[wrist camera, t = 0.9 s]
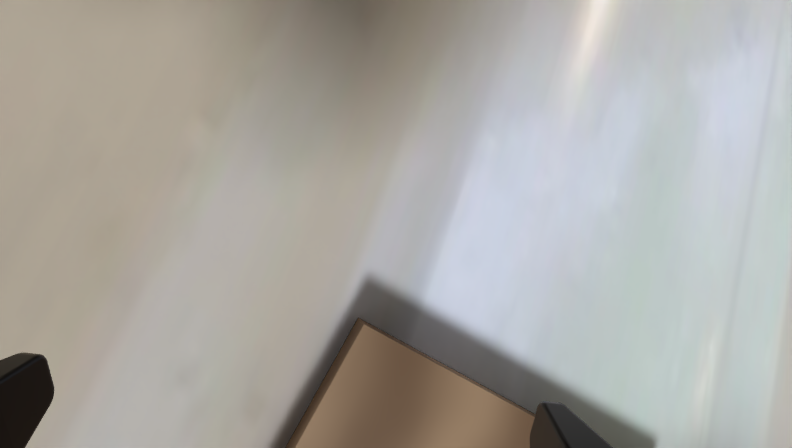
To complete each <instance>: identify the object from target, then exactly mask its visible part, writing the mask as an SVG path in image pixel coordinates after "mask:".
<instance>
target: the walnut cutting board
mask: <svg viewBox="0 0 792 448" xmlns="http://www.w3.org/2000/svg"><path fill="white" fill-rule="evenodd" d="M535 415H536V414H534V413H532V412H530V411H528V410H526V409H525V408H523V407H521V406H519V405H517V404H515V403H514V402H512V401H510V400H508V399H506V398H504V397H503V396H501V395H499V394H497V393H495V392H493V391H492V390H490V389H488V388H486V387H484V386H482V385H481V384H479V383H477V382H475V381H473V380H471V379H470V378H468V377H466V376H464V375H462V374H460V373H459V372H457V371H455V370H453V369H451V368H449V367H448V366H446V365H444V364H442V363H440V362H438V361H437V360H435V359H433V358H431V357H429V356H427V355H426V354H424V353H422V352H420V351H418V350H416V349H415V348H413V347H411V346H409V345H407V344H405V343H404V342H402V341H400V340H398V339H396V338H394V337H393V336H391V335H389V334H387V333H385V332H383V331H382V330H380V329H378V328H376V327H374V326H372V325H371V324H369V323H367V322H365V321H363V320H361V319H360V318H358V319H357V321H356V322H355V324H354V326H353V328H352V330H351V331H350V333H349V335H348V337H347V339H346V340H345V342H344V344H343V346H342V347H341V349H340V351H339V353H338V355H337V356H336V358H335V360H334V362H333V364H332V365H331V367H330V369H329V371H328V372H327V374H326V376H325V378H324V380H323V381H322V383H321V385H320V387H319V389H318V390H317V392H316V394H315V396H314V397H313V399H312V401H311V403H310V405H309V406H308V408H307V410H306V412H305V414H304V415H303V417H302V419H301V421H300V422H299V424H298V426H297V428H296V430H295V431H294V433H293V435H292V437H291V439H290V440H289V442H288V444H287V446H286V447H285V448H530V432H531V428H532V425H533V422H534V418H535Z"/></svg>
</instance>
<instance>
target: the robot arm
mask: <svg viewBox="0 0 792 448" xmlns="http://www.w3.org/2000/svg"><path fill="white" fill-rule="evenodd" d="M53 396H54V385H53V381H52V377H51V374H50V370H49V366H48V362H47V359H46V358H45V357H44V356H43V355H41V354H32V353H19V354H15V355H13V356H10V357H8V358H5V359H2V360H0V448H25V447H26V445H27V443H28V441H29V440H30V438H31V436H32V435H33V433H34V431H35V430H36V428H37V426H38V424H39V423H40V421H41V419H42V418H43V416H44V414H45V413H46V411H47V409H48V407H49V406H50V404H51V402H52V399H53ZM530 448H613V447H612V446H611V445H610V444H608V443H607V442H606V441H605V440H604V439H603V438H602V437H600V436H599V435H598V434H597V433H596V432H595V431H593V430H592V429H591V428H590V427H589V426H588V425H587V424H585V423H584V422H583V421H582V420H581V419H580V418H579V417H577V416H576V415H575V414H574V413H573V412H572V411H571V410H569V409H568V408H567V407H566V406H565V405H563V404H562V403H557V402H546V401H543V402H541V403H540V404H539V405H538V408H537V411H536V415H535V418H534V422H533V425H532V428H531V432H530Z"/></svg>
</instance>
